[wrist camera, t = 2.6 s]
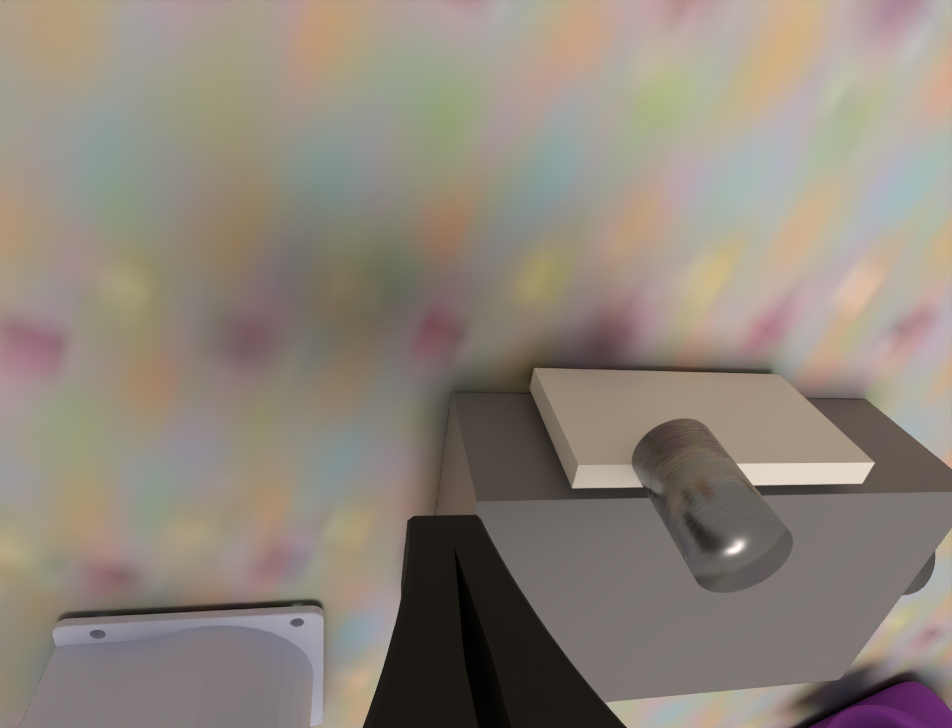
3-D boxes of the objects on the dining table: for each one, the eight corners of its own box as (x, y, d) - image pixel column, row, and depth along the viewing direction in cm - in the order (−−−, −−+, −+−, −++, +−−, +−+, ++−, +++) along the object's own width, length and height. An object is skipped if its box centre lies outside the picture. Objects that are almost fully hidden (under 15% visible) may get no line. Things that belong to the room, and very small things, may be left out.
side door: (529, 388, 20) (620, 601, 13) (542, 326, 19) (649, 524, 12) (770, 393, 22) (961, 581, 15) (796, 336, 21) (1016, 513, 14)
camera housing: (425, 594, 25) (438, 717, 21) (452, 391, 20) (476, 500, 16) (797, 575, 28) (873, 676, 24) (901, 398, 23) (1020, 489, 19)
